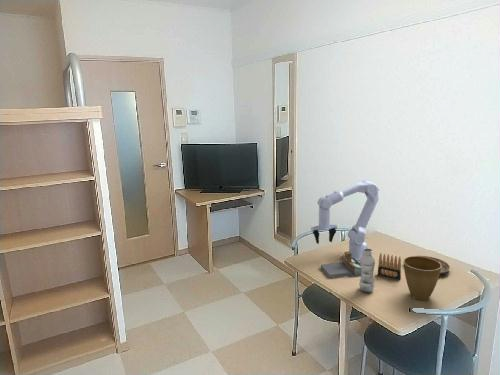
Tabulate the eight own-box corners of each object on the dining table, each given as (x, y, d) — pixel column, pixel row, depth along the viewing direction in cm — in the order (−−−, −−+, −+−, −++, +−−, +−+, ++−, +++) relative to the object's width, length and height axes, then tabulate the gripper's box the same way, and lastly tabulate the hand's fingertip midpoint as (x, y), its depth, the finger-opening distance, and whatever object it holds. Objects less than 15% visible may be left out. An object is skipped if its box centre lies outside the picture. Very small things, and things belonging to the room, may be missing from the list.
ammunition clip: (400, 278, 169) (402, 256, 166) (400, 280, 168) (401, 257, 165) (378, 273, 175) (379, 251, 172) (377, 275, 174) (378, 253, 171)
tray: (353, 263, 188) (353, 257, 187) (366, 274, 175) (366, 268, 174) (342, 264, 187) (342, 258, 186) (354, 276, 173) (354, 269, 173)
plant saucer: (407, 257, 192) (407, 252, 191) (450, 265, 182) (450, 259, 181) (401, 273, 175) (402, 267, 174) (448, 282, 164) (449, 276, 164)
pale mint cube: (356, 270, 179) (358, 264, 179) (360, 273, 175) (362, 268, 175) (349, 268, 178) (351, 263, 178) (353, 271, 174) (355, 266, 174)
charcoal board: (342, 265, 186) (342, 261, 185) (353, 275, 174) (353, 271, 174) (320, 268, 184) (320, 264, 183) (329, 278, 172) (329, 274, 172)
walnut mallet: (344, 260, 186) (344, 247, 184) (356, 271, 174) (356, 257, 172) (340, 261, 186) (340, 248, 184) (351, 272, 173) (351, 258, 171)
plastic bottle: (366, 295, 156) (367, 254, 151) (356, 288, 162) (357, 248, 157) (377, 292, 158) (379, 251, 154) (366, 285, 164) (368, 246, 160)
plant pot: (445, 297, 152) (448, 263, 148) (427, 309, 144) (430, 273, 140) (412, 284, 164) (415, 252, 160) (394, 294, 155) (396, 261, 152)
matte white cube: (350, 264, 186) (352, 259, 186) (353, 267, 182) (355, 262, 182) (343, 262, 185) (345, 257, 185) (347, 265, 181) (349, 260, 181)
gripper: (314, 222, 183) (314, 246, 186) (339, 219, 185) (339, 243, 188) (309, 218, 190) (309, 241, 193) (334, 216, 192) (334, 239, 195)
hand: (324, 242), depth 191 cm, fingers open, 7 cm apart
